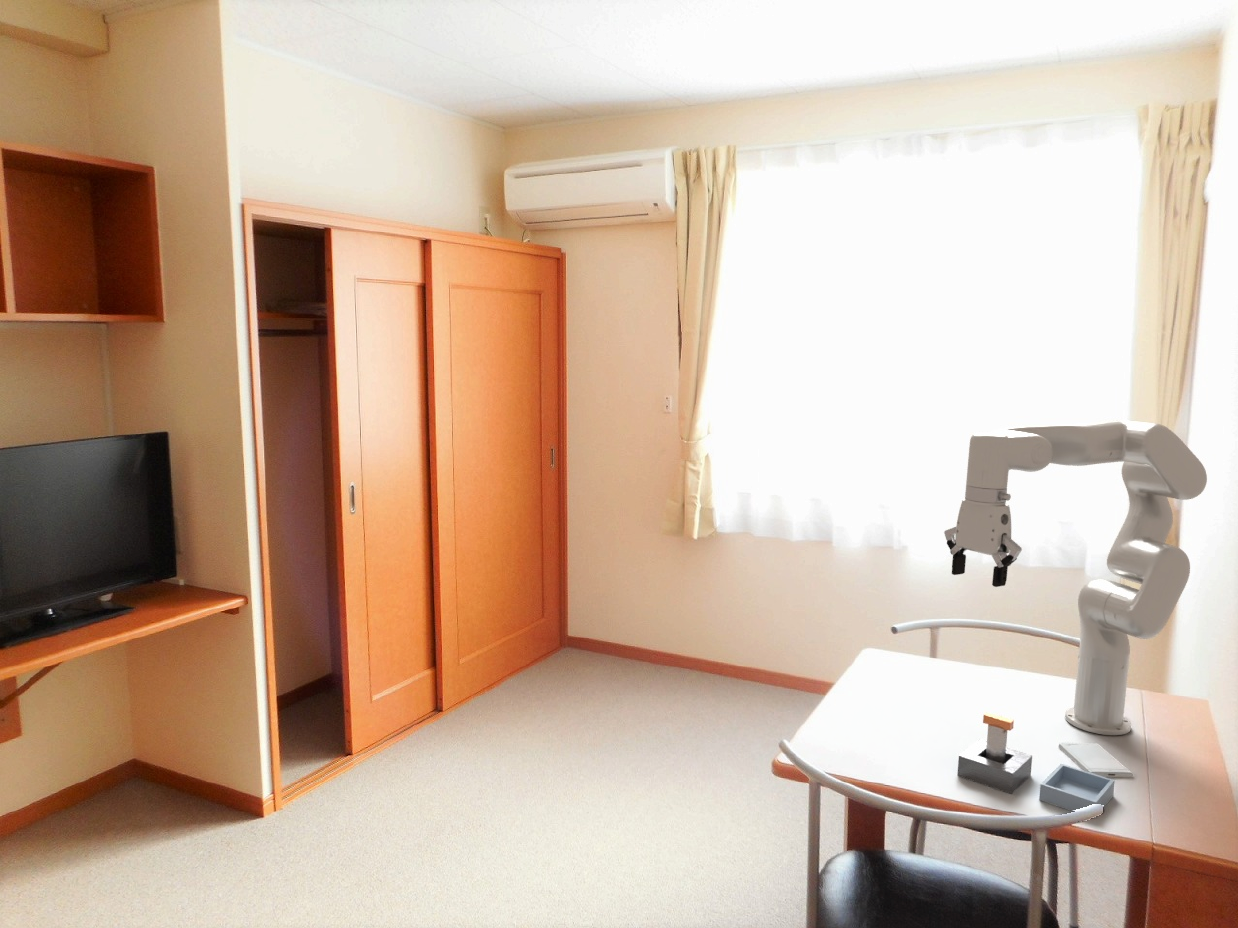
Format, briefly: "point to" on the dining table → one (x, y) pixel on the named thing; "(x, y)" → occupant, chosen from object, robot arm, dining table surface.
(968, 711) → the dining table surface
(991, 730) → the pin
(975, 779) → the block
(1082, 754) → the hard drive
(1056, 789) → the tray
